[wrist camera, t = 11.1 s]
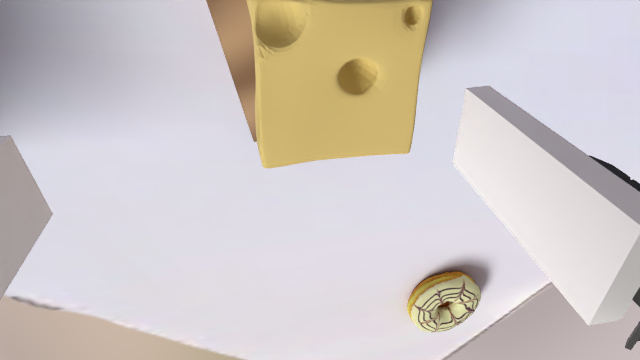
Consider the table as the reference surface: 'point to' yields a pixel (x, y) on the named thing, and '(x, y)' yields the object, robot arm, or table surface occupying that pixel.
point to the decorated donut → (443, 301)
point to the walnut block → (238, 50)
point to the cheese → (336, 77)
